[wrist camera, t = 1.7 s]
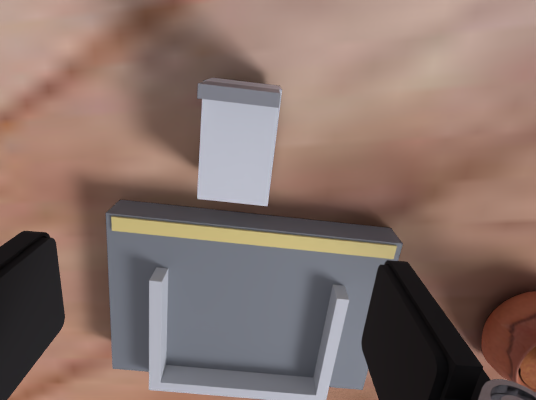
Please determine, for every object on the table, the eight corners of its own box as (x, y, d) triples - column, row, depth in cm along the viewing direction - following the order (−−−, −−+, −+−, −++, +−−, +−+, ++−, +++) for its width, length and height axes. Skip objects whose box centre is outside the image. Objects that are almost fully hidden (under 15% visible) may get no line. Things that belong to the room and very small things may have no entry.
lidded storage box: (214, 77, 28) (194, 82, 20) (279, 84, 28) (284, 93, 20) (208, 176, 31) (188, 215, 23) (267, 182, 31) (267, 223, 23)
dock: (120, 199, 32) (94, 223, 27) (391, 228, 33) (412, 255, 28) (124, 345, 37) (103, 386, 33) (355, 365, 38) (367, 407, 34)
